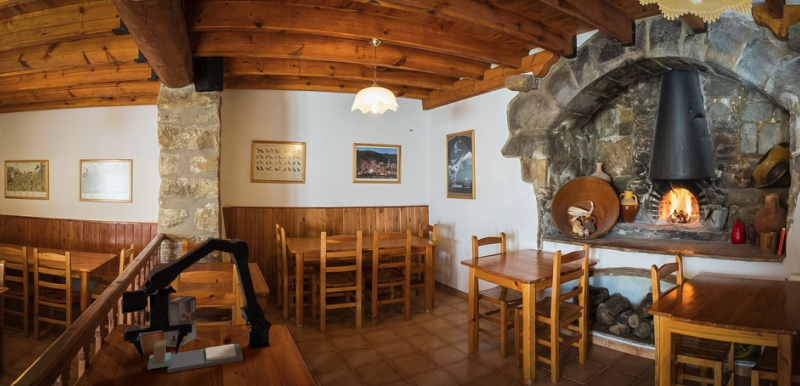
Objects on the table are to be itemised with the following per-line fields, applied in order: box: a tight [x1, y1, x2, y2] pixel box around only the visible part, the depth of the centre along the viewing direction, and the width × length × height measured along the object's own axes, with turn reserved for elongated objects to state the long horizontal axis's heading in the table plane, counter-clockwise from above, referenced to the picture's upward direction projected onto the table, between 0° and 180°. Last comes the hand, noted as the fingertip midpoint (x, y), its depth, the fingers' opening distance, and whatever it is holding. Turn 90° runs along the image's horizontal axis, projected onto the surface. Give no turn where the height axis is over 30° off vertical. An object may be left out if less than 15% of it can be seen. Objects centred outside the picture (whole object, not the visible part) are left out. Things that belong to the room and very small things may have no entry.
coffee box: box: [163, 295, 197, 348], centre depth 154 cm, size 9×6×16 cm
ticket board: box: [167, 343, 244, 374], centre depth 141 cm, size 22×12×2 cm, turn 116°
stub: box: [147, 339, 172, 370], centre depth 135 cm, size 6×9×6 cm, turn 26°
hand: (159, 356), depth 135 cm, fingers open, 9 cm apart
